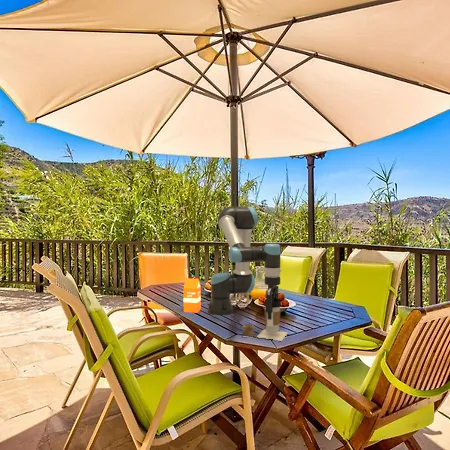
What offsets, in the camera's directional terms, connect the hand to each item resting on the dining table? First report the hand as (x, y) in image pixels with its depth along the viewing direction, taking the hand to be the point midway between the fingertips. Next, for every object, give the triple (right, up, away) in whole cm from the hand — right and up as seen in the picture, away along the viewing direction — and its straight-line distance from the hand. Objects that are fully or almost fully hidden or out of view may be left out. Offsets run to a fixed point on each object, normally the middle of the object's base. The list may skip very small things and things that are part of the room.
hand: (272, 323), depth 159 cm
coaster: (0, -6, 0) cm, 6 cm away
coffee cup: (0, -4, 0) cm, 4 cm away
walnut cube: (-12, -6, +1) cm, 13 cm away
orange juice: (-43, -6, +46) cm, 63 cm away
